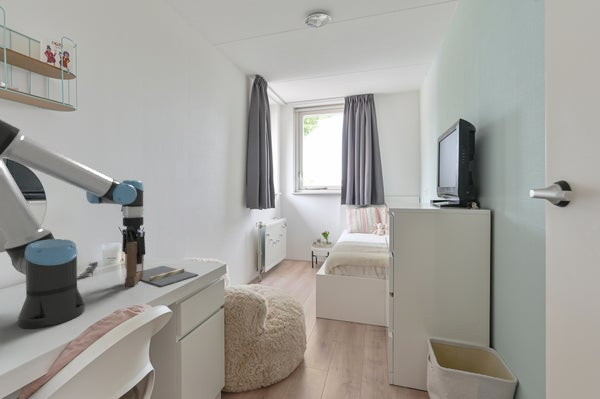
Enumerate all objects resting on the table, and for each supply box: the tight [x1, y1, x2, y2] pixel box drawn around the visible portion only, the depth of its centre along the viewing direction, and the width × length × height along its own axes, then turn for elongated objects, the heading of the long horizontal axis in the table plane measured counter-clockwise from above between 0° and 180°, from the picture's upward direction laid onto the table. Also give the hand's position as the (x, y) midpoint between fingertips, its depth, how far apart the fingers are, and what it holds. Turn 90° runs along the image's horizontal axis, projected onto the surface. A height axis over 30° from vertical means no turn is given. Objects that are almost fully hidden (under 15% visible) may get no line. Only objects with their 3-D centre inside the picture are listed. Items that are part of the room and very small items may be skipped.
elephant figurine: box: [77, 261, 99, 279], centre depth 125 cm, size 10×6×9 cm
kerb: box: [150, 267, 185, 281], centre depth 123 cm, size 16×1×2 cm, turn 148°
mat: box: [139, 265, 199, 288], centre depth 125 cm, size 18×28×1 cm, turn 58°
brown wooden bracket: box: [124, 242, 145, 287], centre depth 115 cm, size 4×11×18 cm, turn 14°
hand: (133, 269), depth 115 cm, fingers closed on brown wooden bracket, 7 cm apart
